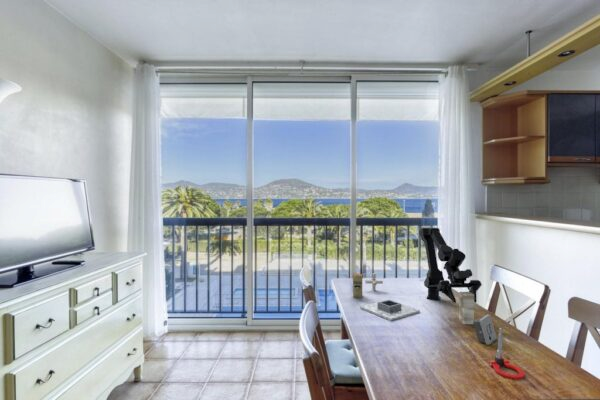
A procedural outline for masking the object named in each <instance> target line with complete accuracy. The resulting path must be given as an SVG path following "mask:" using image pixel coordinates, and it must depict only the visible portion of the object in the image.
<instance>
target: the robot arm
mask: <svg viewBox="0 0 600 400" xmlns="http://www.w3.org/2000/svg"><path fill="white" fill-rule="evenodd" d="M418 232H419V236H420V239H421V241H422V243H424V247H425V253H426V262H427V267H428V271H427V272H426V276H425V279H424V281H423V285H424V287H425V288H427V296H426V299H427V300H434V301H440V299H441V296H440V293H442V294H444V295H445V296H446V297H448V298H449V299H450V300H451V301H452V302H453V304H456V303H457V300H456V297H455V295H454V292H453V289H452V288H456V289H457V288H458V289H459V288H460V289H461V288H467V290H468V292H470V293H472V294H474V304H477V301H478V300H477V291H478V290H479V289H480V288H481V287H482V285H483V284H482V283H481V281H480V280H479V279H471V280H469V282H467V280H468V279H470V277H472V276H473V272H472V270H471V269H470V268H469V269H468V268H467V269H465V270H460V268H459V267H461V266H462V264H463V262H464V260H465V259H466V254H465V253H464V252H463V251H462V250H459V248H452V247H451V246H449V245H448V244H447V243H446V241H445V239H444V237H443V235H442V233H441V232H440V228H439V227H421V228H420V229H419V231H418ZM435 246H436V248H435ZM436 249H437V251H438V252H437V253H436ZM437 257H438V258H437ZM437 259H439V261H440V262H445V263H444V265H443V270H446V273H447V279H448V280H447V279H446V280H445V278H444V273H443V271H442V270H440V268H439V266H438V260H437Z"/></svg>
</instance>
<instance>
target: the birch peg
mask: <svg viewBox="0 0 600 400" xmlns="http://www.w3.org/2000/svg"><path fill="white" fill-rule="evenodd" d="M458 296H459V297H458V299H459V302H458V306H459V307H458V309H459V310H458V314H459V315H458V321H459V322H460V323H462V324H463V325H474V323H473V321H475V302H474V294H472V293H470V292H469V291H459V292H458Z"/></svg>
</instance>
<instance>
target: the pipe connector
mask: <svg viewBox="0 0 600 400" xmlns="http://www.w3.org/2000/svg"><path fill="white" fill-rule="evenodd" d="M371 277H372V278H371V280H368V279H367V280H365V281H364V283H365V284H371V287H372V290H373V291H372V290H371V291H372V292H376V286H377V284H379V285H381V284H383V283H384V280H376V273H375V272H374V273H373V272H372V275H371Z"/></svg>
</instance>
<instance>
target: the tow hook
mask: <svg viewBox="0 0 600 400" xmlns="http://www.w3.org/2000/svg"><path fill="white" fill-rule="evenodd" d="M497 336H498V337H497V350H496V356H494V357H495V358H494V361H489V362H488V364H489V365H488V366H489V367H492V368H493V370H494V372H495V373H497V374H498V375H499V376H501V377H503V376H504V378H506V379H509V378H510V379H511V380H522V379H521V378H523V379H524V378H525V371H524V370H523V369H522V368H520V367H518V366H517V365H514V364H512V363H510V361H509V360H505V359H504V358H503V328H502V327H499V329H498V335H497ZM503 366H504V367H505V368H508V369H511V370H514V371H515V372H517V373H518V374H517V373H516V374H510V373H507V372H504V371H503V370H501V369H500V367H503Z"/></svg>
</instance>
